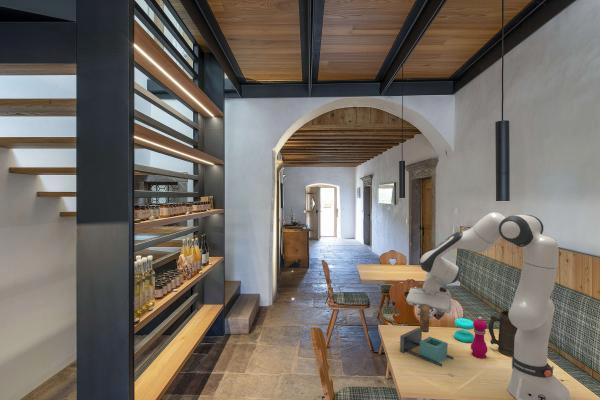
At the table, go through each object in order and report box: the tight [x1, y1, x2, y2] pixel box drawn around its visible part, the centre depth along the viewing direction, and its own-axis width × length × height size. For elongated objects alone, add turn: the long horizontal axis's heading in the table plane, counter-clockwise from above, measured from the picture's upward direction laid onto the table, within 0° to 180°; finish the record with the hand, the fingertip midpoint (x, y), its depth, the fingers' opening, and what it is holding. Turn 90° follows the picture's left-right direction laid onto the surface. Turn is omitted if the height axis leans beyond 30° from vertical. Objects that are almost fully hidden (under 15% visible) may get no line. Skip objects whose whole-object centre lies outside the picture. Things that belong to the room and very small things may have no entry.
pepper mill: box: [470, 316, 488, 359], centre depth 170 cm, size 7×7×20 cm
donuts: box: [453, 317, 475, 343], centre depth 191 cm, size 10×10×10 cm
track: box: [399, 327, 454, 367], centre depth 170 cm, size 20×16×9 cm
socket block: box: [419, 336, 448, 363], centre depth 168 cm, size 9×9×7 cm
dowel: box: [419, 304, 430, 334], centre depth 164 cm, size 4×4×12 cm
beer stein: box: [487, 310, 518, 358], centre depth 176 cm, size 15×11×20 cm
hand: (424, 315), depth 164 cm, fingers closed on dowel, 4 cm apart
